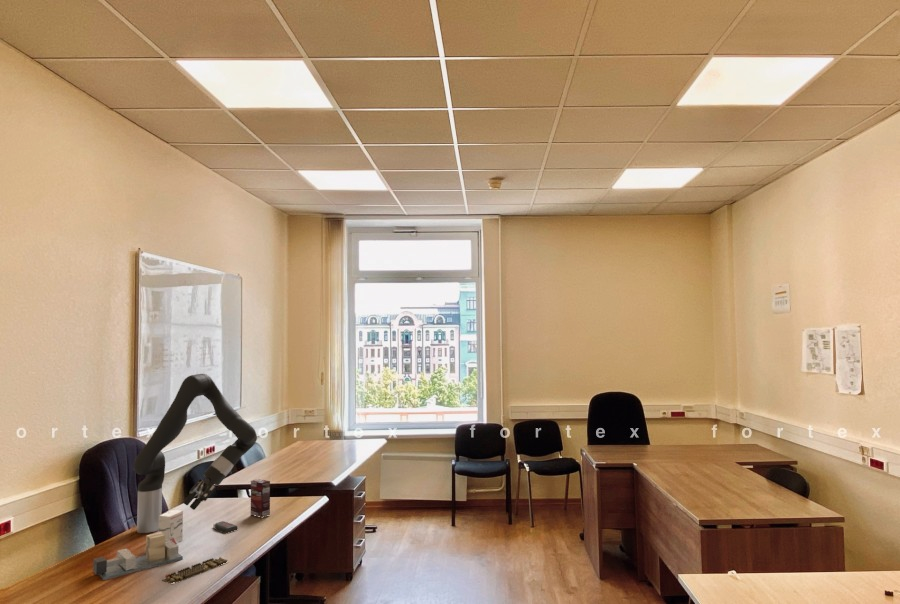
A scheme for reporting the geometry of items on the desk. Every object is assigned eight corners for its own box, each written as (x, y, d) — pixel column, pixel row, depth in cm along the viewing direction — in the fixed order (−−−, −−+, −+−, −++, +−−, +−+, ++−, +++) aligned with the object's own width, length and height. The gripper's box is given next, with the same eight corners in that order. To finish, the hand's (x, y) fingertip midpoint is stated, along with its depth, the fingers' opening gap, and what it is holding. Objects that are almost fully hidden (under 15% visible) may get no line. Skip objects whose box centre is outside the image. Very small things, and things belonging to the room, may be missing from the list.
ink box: (168, 547, 213) (168, 516, 214) (157, 547, 214) (157, 516, 215) (183, 539, 222) (183, 510, 223) (172, 539, 223) (173, 509, 224)
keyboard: (172, 587, 178) (172, 580, 178) (157, 581, 183) (157, 575, 183) (231, 564, 196) (231, 558, 197) (216, 559, 201) (216, 553, 201)
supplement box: (249, 515, 253) (250, 480, 254) (258, 513, 256) (259, 478, 258) (261, 518, 248) (261, 482, 249) (270, 515, 252) (270, 480, 253)
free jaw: (90, 568, 191) (91, 556, 191) (126, 559, 198) (126, 547, 199) (98, 577, 182) (98, 565, 183) (135, 568, 190) (135, 556, 190)
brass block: (145, 558, 200) (146, 535, 201) (160, 554, 203) (161, 532, 204) (149, 561, 196) (150, 538, 197) (164, 557, 200) (165, 535, 200)
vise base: (95, 570, 192) (96, 555, 192) (171, 551, 209) (172, 537, 209) (103, 580, 183) (104, 565, 184) (182, 559, 200) (182, 545, 201)
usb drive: (226, 534, 228) (226, 527, 228) (211, 529, 236) (211, 522, 236) (237, 531, 232) (237, 524, 233) (222, 525, 240) (222, 519, 240)
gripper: (205, 462, 221) (175, 497, 212) (218, 467, 210) (186, 504, 202) (219, 473, 224) (189, 508, 216) (232, 478, 213) (201, 515, 205)
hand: (188, 506), depth 209 cm, fingers open, 8 cm apart
